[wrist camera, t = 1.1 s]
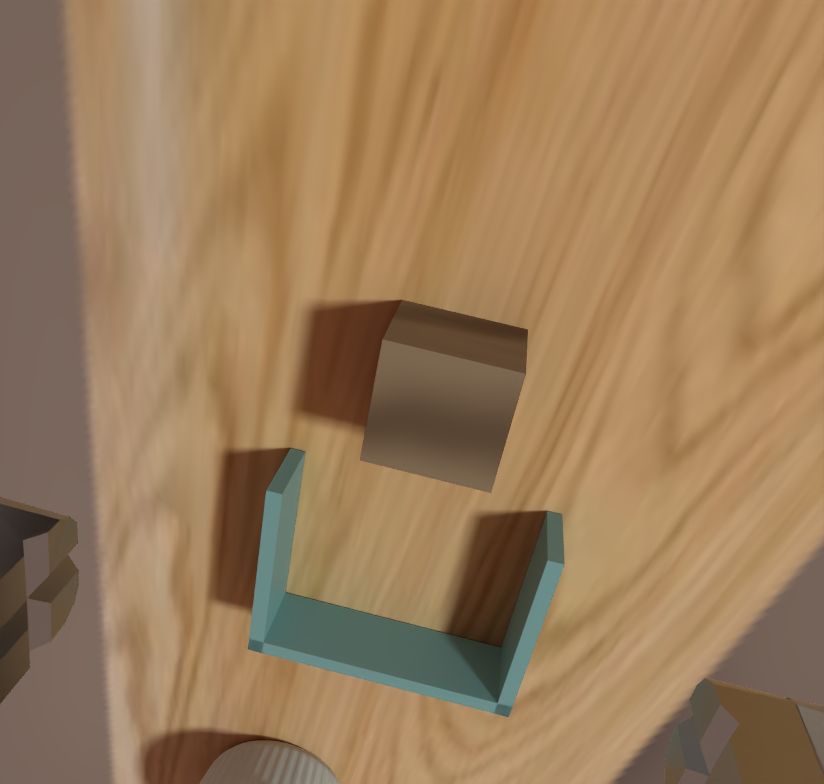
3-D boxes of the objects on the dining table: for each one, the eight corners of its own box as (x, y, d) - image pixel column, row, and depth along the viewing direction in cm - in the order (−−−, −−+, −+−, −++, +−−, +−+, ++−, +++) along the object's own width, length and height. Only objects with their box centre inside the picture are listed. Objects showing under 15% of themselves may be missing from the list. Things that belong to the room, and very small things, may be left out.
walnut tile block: (402, 298, 35) (382, 339, 31) (527, 328, 35) (525, 373, 30) (380, 408, 38) (359, 460, 33) (497, 437, 38) (490, 492, 33)
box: (290, 448, 40) (266, 490, 36) (562, 514, 39) (564, 564, 35) (271, 599, 45) (248, 649, 41) (511, 660, 44) (508, 717, 40)
